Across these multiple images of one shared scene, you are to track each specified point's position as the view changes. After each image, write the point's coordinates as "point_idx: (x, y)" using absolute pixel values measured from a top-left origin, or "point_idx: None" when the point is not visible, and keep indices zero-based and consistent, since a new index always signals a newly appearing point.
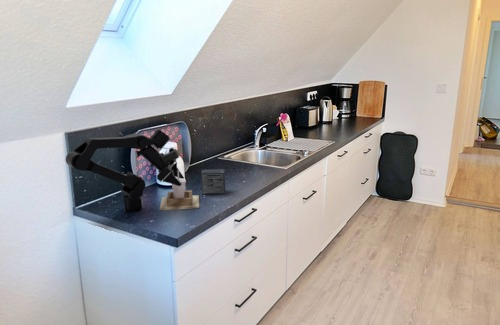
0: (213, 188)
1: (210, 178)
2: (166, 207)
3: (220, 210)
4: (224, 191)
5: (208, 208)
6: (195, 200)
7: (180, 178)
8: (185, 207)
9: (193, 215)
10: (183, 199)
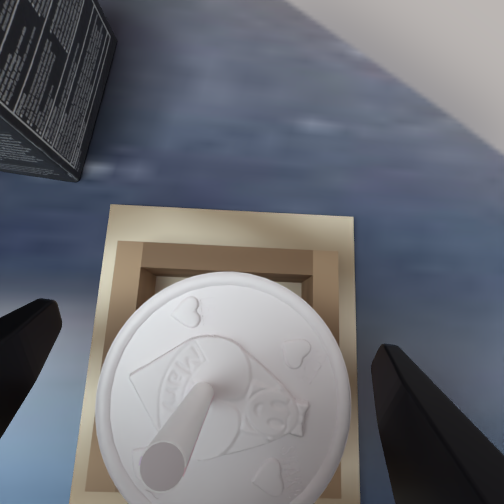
0: (77, 72)
1: (13, 10)
2: (341, 472)
3: (405, 100)
4: (108, 24)
5: (361, 164)
6: (226, 234)
7: (117, 359)
8: (353, 314)
9: (474, 264)
10: (338, 326)
